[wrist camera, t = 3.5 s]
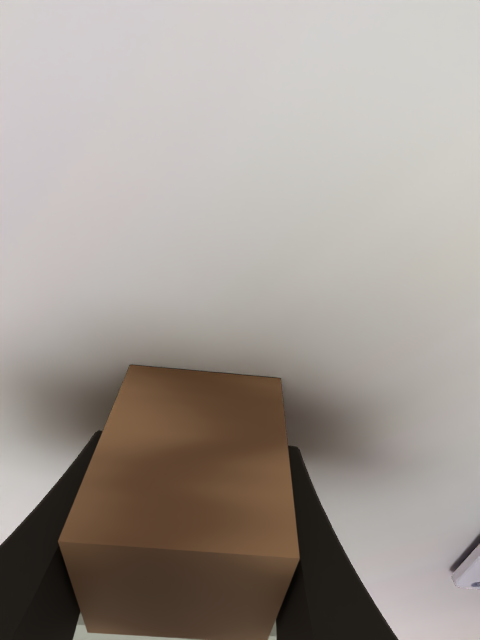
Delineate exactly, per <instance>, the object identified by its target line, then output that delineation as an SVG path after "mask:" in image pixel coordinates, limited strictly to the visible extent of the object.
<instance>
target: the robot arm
mask: <svg viewBox="0 0 480 640" xmlns="http://www.w3.org/2000/svg"><path fill="white" fill-rule="evenodd" d="M102 432H103V431H100V430H98V431H97V432H95V434H94V435H93V436H92V438H91V439H90V441H89V442H88V443H87V445H86V446H85V447H84V449H83V450H82V451H81V453H80V454H79V455H78V457H77V458H76V459H75V461H74V462H73V463H72V464H71V466H70V467H69V468H68V469H67V471H66V472H65V473H64V474H63V476H62V477H61V478H60V479H59V481H58V482H57V483H56V484H55V485H54V486H53V488H52V489H51V490H50V491H49V492H48V494H47V495H46V496H45V497H44V498H43V500H42V501H41V502H40V503H39V504H38V505H37V506H36V508H35V509H34V510H33V511H32V512H31V513H30V514H29V515H28V516H27V517H26V519H25V520H24V521H23V522H22V523H21V524H20V525H19V526H18V527H17V528H16V529H15V531H14V532H13V533H12V534H11V535H10V536H9V537H8V538H7V539H6V540H5V541H4V542H3V543H2V544H1V545H0V640H73V637H74V634H75V630H76V626H77V622H78V619H79V615H80V612H81V611H80V608H79V605H78V602H77V599H76V596H75V593H74V589H73V586H72V583H71V580H70V577H69V574H68V571H67V568H66V565H65V562H64V559H63V556H62V552H61V549H60V546H59V543H58V540H59V537H60V535H61V532H62V530H63V528H64V525H65V523H66V520H67V518H68V515H69V513H70V510H71V508H72V506H73V503H74V501H75V498H76V496H77V493H78V491H79V488H80V486H81V483H82V481H83V479H84V476H85V474H86V471H87V469H88V466H89V464H90V461H91V459H92V456H93V454H94V452H95V449H96V447H97V444H98V442H99V439H100V437H101V434H102ZM288 452H289V462H290V471H291V481H292V490H293V499H294V509H295V518H296V528H297V537H298V546H299V556H300V559H299V562H298V564H297V567H296V569H295V572H294V574H293V577H292V579H291V582H290V585H289V587H288V590H287V592H286V595H285V597H284V600H283V602H282V605H281V607H280V610H279V613H278V615H277V618H276V634H277V640H398V638H397V637H396V635H395V634H394V633H393V631H392V630H391V628H390V626H389V625H388V623H387V622H386V620H385V619H384V617H383V616H382V614H381V612H380V611H379V609H378V608H377V606H376V605H375V603H374V601H373V600H372V598H371V596H370V595H369V593H368V591H367V590H366V588H365V587H364V585H363V583H362V581H361V580H360V578H359V576H358V575H357V573H356V571H355V569H354V567H353V566H352V564H351V562H350V560H349V558H348V557H347V555H346V553H345V551H344V549H343V547H342V545H341V544H340V542H339V540H338V538H337V536H336V534H335V532H334V530H333V528H332V526H331V524H330V522H329V519H328V517H327V515H326V513H325V511H324V509H323V507H322V505H321V503H320V500H319V498H318V496H317V494H316V491H315V489H314V486H313V484H312V482H311V479H310V477H309V474H308V472H307V469H306V467H305V464H304V461H303V458H302V455H301V452H300V450H299V449H298V447H294V446H288ZM452 579H453V581H454V584H455V586H457V587H459V588H468V589H480V544H479V545H478V546H477V547H476V548H475V549H474V550H473V552H472V553H471V554H470V555H469V556H468V557H467V558H466V559H465V560H464V562H463V563H462V564H461V565H460V566H459V567H458V568H457V569H456V570H455V572H454V573H453V574H452Z"/></svg>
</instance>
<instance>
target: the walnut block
mask: <svg viewBox="0 0 480 640" xmlns="http://www.w3.org/2000/svg"><path fill="white" fill-rule="evenodd" d="M58 543H59V546H60V549H61V552H62V556H63V559H64V562H65V565H66V568H67V571H68V574H69V577H70V580H71V583H72V586H73V589H74V593H75V596H76V599H77V602H78V605H79V608H80V611H81V614H82V617H83V620H84V623H85V626H86V630H87V633H100V634H117V635H133V636H150V637H166V638H182V639H199V640H268V638H269V635H270V633H271V630H272V628H273V625H274V623H275V620H276V618H277V615H278V613H279V610H280V607H281V605H282V602H283V600H284V597H285V595H286V592H287V590H288V587H289V585H290V582H291V579H292V577H293V574H294V572H295V569H296V567H297V564H298V562H299V559H300V556H299V546H298V537H297V528H296V518H295V509H294V499H293V490H292V481H291V471H290V462H289V452H288V443H287V434H286V424H285V415H284V405H283V396H282V387H281V378H270V377H259V376H248V375H237V374H226V373H215V372H203V371H192V370H181V369H170V368H159V367H148V366H137V365H130V366H129V368H128V371H127V373H126V376H125V378H124V381H123V383H122V385H121V388H120V390H119V393H118V395H117V398H116V400H115V403H114V405H113V407H112V410H111V412H110V415H109V417H108V420H107V422H106V425H105V427H104V430H103V432H102V434H101V437H100V439H99V442H98V444H97V447H96V449H95V452H94V454H93V456H92V459H91V461H90V464H89V466H88V469H87V471H86V474H85V476H84V479H83V481H82V483H81V486H80V488H79V491H78V493H77V496H76V498H75V501H74V503H73V506H72V508H71V510H70V513H69V515H68V518H67V520H66V523H65V525H64V528H63V530H62V532H61V535H60V537H59V540H58Z"/></svg>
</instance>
